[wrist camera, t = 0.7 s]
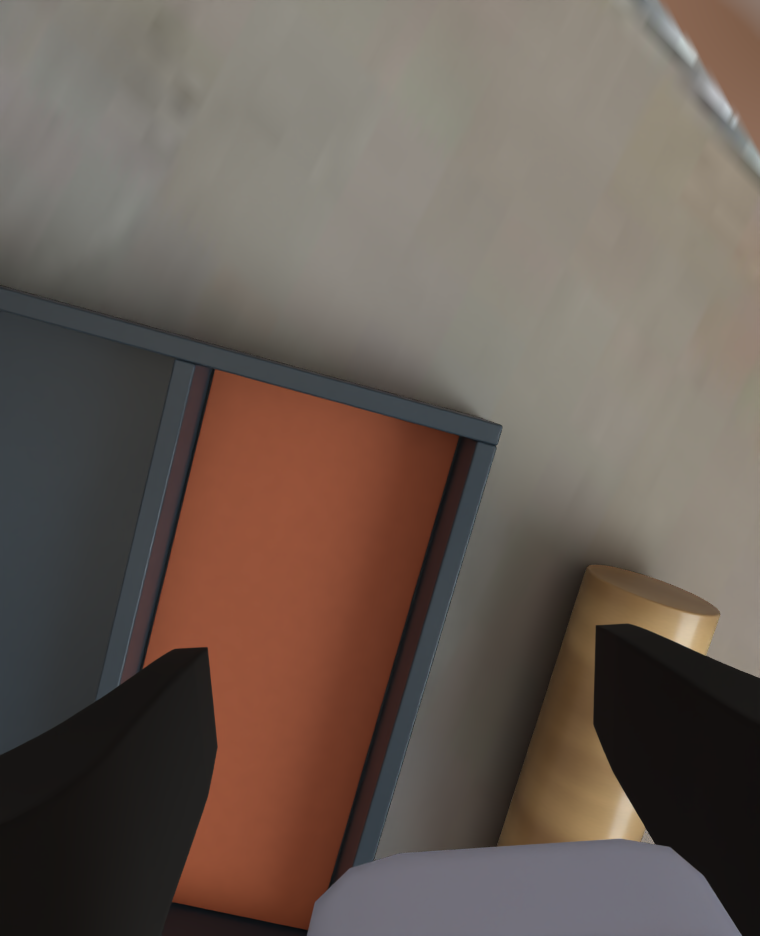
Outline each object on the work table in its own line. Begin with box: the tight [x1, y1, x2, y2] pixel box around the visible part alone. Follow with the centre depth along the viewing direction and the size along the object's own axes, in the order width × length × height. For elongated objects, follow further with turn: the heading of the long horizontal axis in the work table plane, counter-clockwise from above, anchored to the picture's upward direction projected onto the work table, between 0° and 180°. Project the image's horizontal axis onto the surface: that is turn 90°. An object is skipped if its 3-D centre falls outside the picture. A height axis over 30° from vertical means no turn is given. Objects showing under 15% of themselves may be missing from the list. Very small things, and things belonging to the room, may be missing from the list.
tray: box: [0, 285, 502, 936], centre depth 21 cm, size 19×18×3 cm
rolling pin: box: [497, 565, 720, 847], centre depth 22 cm, size 15×4×4 cm, turn 165°
